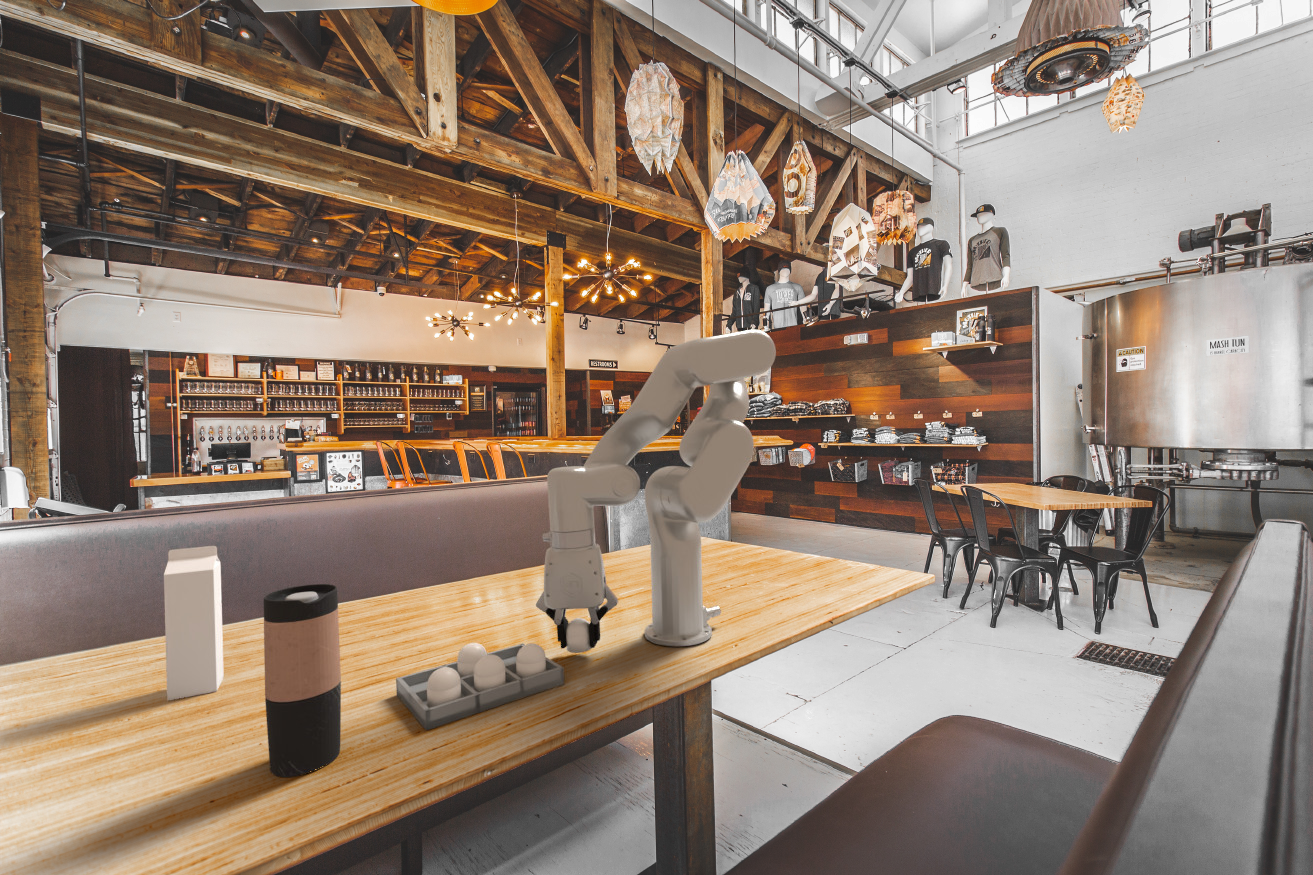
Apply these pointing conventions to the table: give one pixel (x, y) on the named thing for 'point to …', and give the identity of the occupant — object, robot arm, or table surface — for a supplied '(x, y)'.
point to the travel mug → (302, 678)
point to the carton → (477, 682)
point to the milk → (193, 622)
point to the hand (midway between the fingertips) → (579, 643)
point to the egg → (578, 636)
